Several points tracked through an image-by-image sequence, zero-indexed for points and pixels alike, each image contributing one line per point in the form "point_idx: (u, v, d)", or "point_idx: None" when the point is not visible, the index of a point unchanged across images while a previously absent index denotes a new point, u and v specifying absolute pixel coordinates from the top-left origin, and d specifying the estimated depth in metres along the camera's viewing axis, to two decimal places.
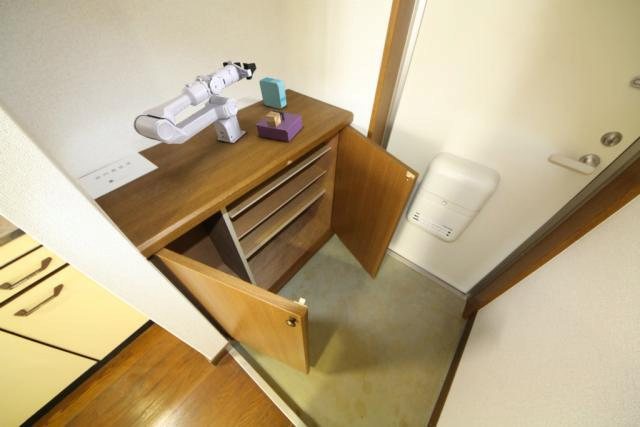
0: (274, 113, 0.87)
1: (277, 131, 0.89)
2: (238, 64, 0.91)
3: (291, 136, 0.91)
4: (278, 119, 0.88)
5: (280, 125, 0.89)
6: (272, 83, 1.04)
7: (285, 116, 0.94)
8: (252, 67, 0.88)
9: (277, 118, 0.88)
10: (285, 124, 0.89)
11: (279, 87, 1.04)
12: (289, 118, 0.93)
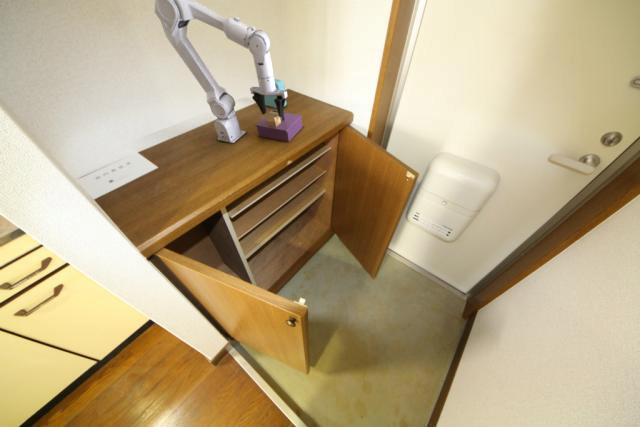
0: (274, 113, 0.87)
1: (277, 131, 0.89)
2: (265, 109, 0.88)
3: (291, 136, 0.91)
4: (278, 119, 0.88)
5: (280, 125, 0.89)
6: None
7: (285, 116, 0.94)
8: (281, 109, 0.84)
9: (277, 118, 0.88)
10: (285, 124, 0.89)
11: (279, 87, 1.04)
12: (289, 118, 0.93)
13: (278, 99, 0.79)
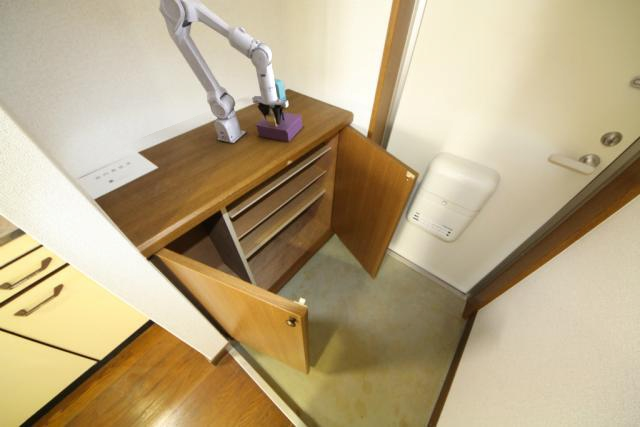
0: None
1: (277, 131, 0.89)
2: None
3: (291, 136, 0.91)
4: None
5: (280, 125, 0.89)
6: None
7: (285, 116, 0.94)
8: (279, 117, 0.87)
9: None
10: (285, 125, 0.89)
11: (279, 87, 1.04)
12: (289, 118, 0.93)
13: (276, 108, 0.82)
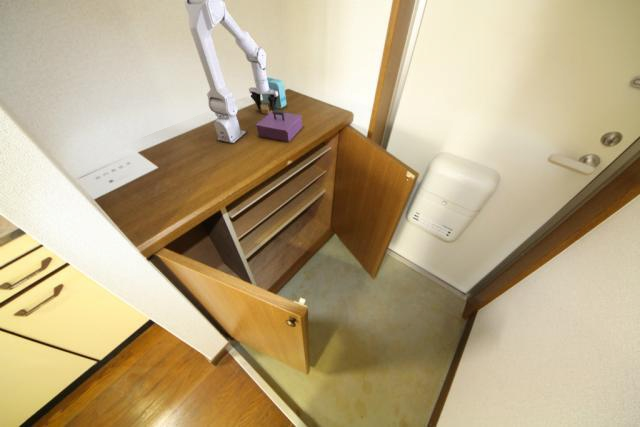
0: (267, 103, 1.07)
1: (277, 131, 0.89)
2: None
3: (291, 136, 0.91)
4: (270, 108, 1.08)
5: (280, 125, 0.89)
6: (272, 83, 1.04)
7: (285, 116, 0.94)
8: (273, 105, 1.06)
9: (269, 107, 1.07)
10: (285, 125, 0.89)
11: (279, 87, 1.04)
12: (289, 118, 0.93)
13: (271, 97, 1.01)
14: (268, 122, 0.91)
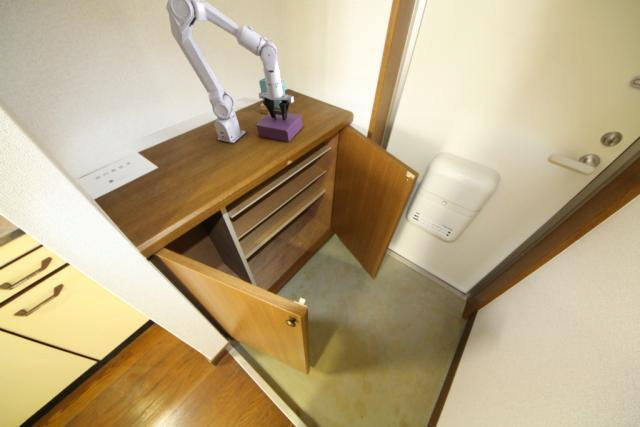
0: None
1: (277, 131, 0.89)
2: None
3: (291, 136, 0.91)
4: None
5: (280, 125, 0.89)
6: None
7: None
8: (285, 113, 0.90)
9: None
10: (285, 124, 0.89)
11: None
12: (289, 118, 0.93)
13: (282, 103, 0.85)
14: (268, 122, 0.91)
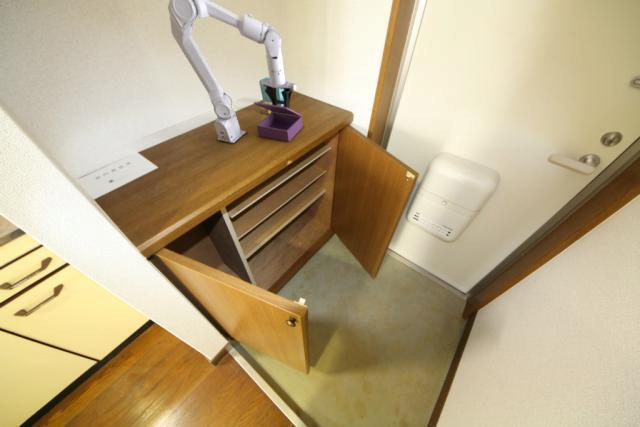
0: (267, 103, 1.07)
1: (277, 131, 0.89)
2: None
3: (291, 136, 0.91)
4: None
5: None
6: None
7: (285, 111, 0.93)
8: (287, 102, 0.89)
9: None
10: None
11: None
12: (289, 111, 0.92)
13: (285, 91, 0.84)
14: None
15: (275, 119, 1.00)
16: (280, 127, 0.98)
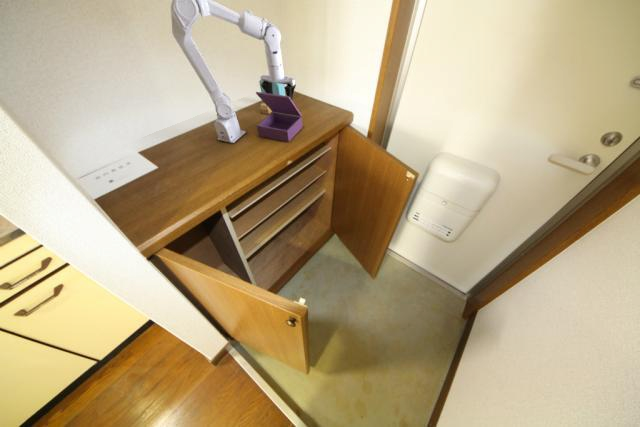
0: None
1: (277, 131, 0.89)
2: None
3: (291, 136, 0.91)
4: None
5: None
6: (272, 83, 1.04)
7: None
8: (290, 97, 0.90)
9: None
10: None
11: (279, 87, 1.04)
12: None
13: (288, 86, 0.85)
14: None
15: (275, 119, 1.00)
16: (280, 127, 0.98)
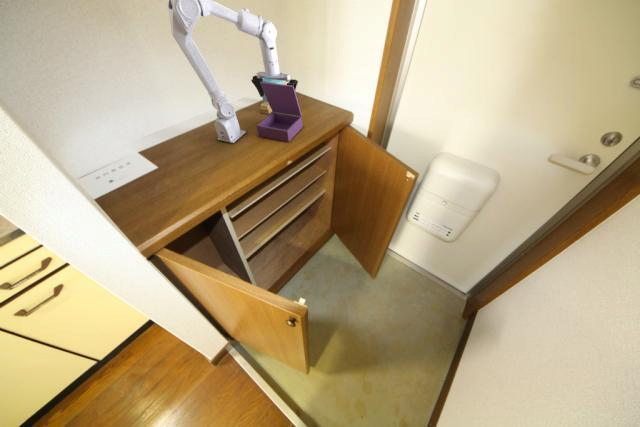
0: (267, 103, 1.07)
1: (277, 131, 0.89)
2: (263, 92, 0.97)
3: (291, 136, 0.91)
4: (270, 108, 1.08)
5: None
6: None
7: None
8: None
9: (269, 107, 1.08)
10: None
11: None
12: None
13: (290, 83, 0.86)
14: None
15: (275, 119, 1.00)
16: (280, 127, 0.98)
